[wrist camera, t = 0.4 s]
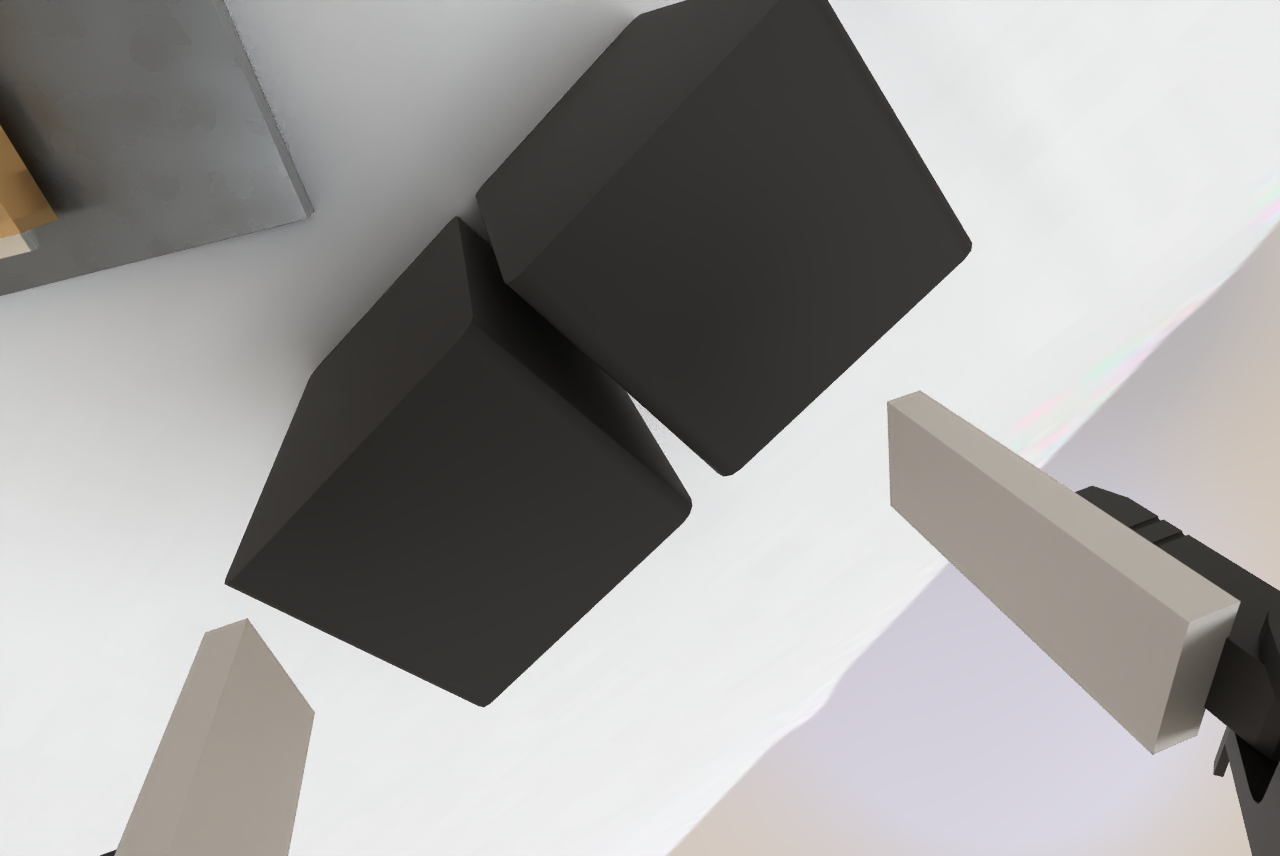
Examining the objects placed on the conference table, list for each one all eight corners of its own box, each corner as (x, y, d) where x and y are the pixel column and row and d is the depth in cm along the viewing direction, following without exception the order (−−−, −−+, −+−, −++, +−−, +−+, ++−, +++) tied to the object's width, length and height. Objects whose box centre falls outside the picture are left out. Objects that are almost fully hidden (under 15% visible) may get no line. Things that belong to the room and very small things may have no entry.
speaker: (466, 477, 43) (484, 718, 27) (312, 372, 37) (219, 593, 21) (760, 179, 39) (986, 250, 23) (635, 15, 34) (816, -40, 18)
